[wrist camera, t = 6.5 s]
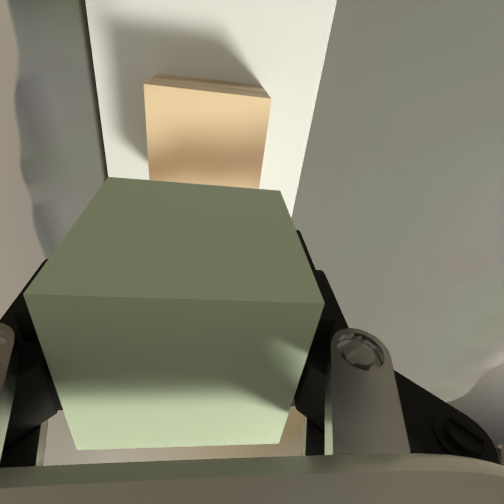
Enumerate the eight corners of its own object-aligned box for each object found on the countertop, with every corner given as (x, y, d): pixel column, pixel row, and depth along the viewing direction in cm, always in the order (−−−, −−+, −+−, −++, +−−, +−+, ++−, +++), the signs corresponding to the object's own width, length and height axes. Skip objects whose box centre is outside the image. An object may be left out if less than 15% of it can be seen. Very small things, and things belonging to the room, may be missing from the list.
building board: (84, -46, 19) (78, -49, 18) (333, -5, 21) (337, -6, 20) (115, 205, 28) (112, 210, 27) (288, 216, 30) (290, 222, 29)
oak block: (157, 73, 22) (143, 83, 18) (261, 85, 23) (271, 98, 19) (161, 174, 26) (150, 202, 21) (250, 181, 27) (256, 209, 22)
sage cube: (108, 176, 9) (23, 294, 5) (280, 190, 10) (324, 303, 6) (124, 306, 12) (77, 450, 8) (258, 309, 13) (278, 443, 9)
